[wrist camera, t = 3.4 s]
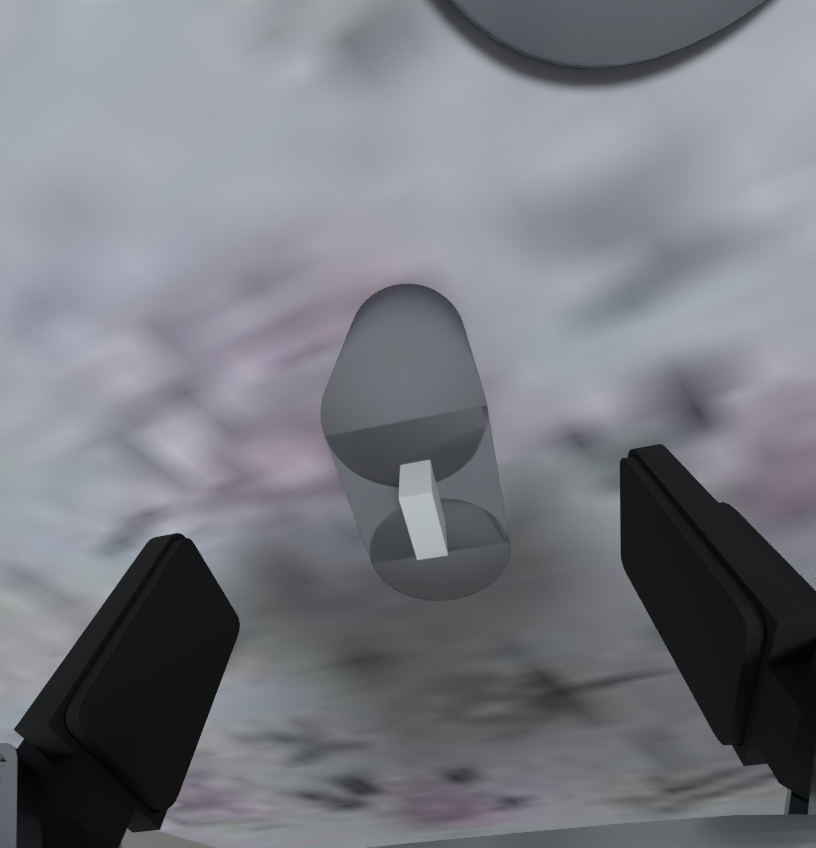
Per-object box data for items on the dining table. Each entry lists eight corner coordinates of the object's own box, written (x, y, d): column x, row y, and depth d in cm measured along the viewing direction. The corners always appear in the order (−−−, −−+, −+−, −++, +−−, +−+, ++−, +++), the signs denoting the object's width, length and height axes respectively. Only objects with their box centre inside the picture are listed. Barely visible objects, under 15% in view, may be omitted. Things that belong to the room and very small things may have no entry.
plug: (335, 298, 14) (281, 387, 8) (454, 271, 13) (481, 344, 8) (395, 496, 17) (386, 647, 12) (490, 480, 17) (526, 629, 11)
